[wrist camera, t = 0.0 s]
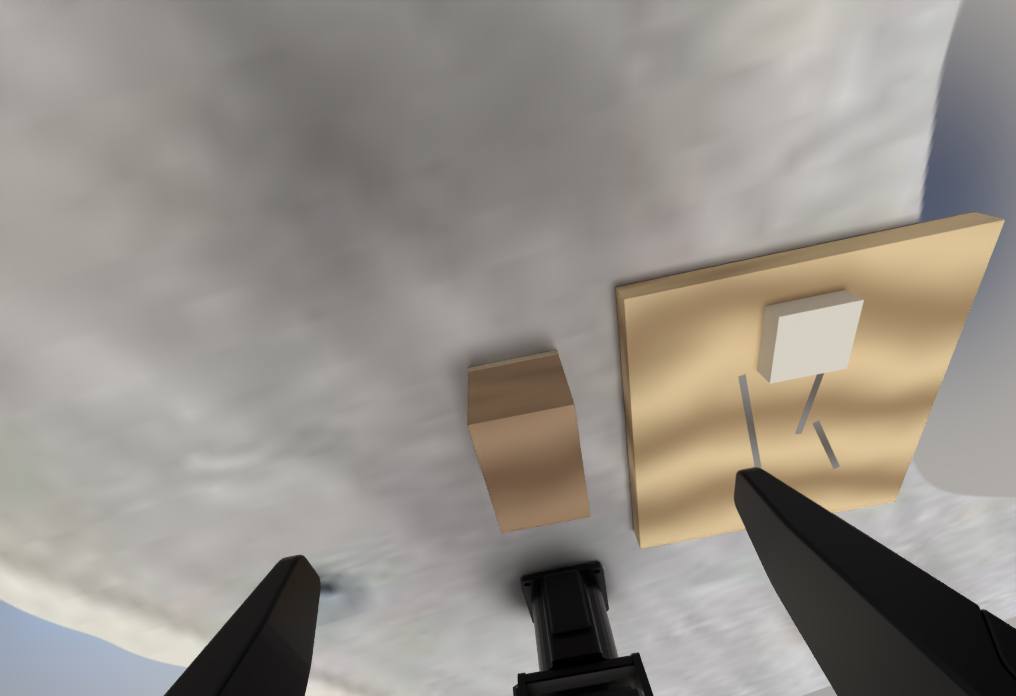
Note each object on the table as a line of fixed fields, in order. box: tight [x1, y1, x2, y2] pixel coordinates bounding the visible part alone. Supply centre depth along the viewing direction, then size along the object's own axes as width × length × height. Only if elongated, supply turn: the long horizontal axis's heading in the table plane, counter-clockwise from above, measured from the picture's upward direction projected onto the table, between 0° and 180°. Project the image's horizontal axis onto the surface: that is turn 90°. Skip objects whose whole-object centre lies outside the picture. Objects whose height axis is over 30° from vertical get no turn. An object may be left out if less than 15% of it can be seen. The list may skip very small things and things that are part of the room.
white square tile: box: [757, 290, 864, 384], centre depth 22 cm, size 4×4×1 cm
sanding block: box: [468, 350, 590, 533], centre depth 24 cm, size 8×5×5 cm, turn 11°
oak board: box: [615, 212, 1005, 549], centre depth 27 cm, size 20×18×2 cm
